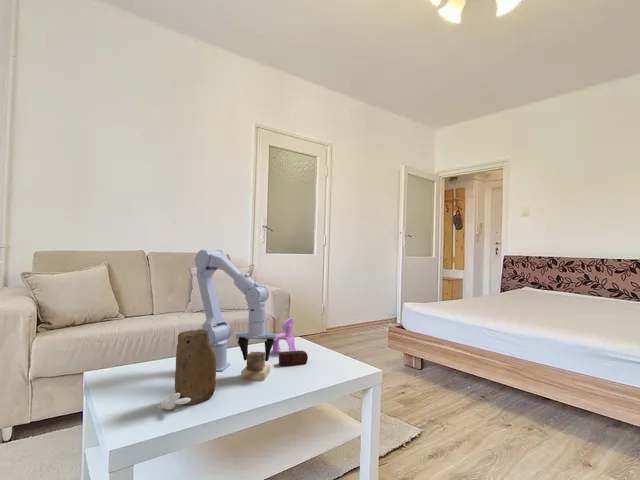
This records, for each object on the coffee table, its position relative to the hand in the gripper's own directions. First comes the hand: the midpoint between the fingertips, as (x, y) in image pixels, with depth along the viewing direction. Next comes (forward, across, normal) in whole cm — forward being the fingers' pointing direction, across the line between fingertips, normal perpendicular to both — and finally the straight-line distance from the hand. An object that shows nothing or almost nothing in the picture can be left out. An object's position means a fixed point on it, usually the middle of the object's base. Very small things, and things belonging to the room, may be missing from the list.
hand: (256, 359), depth 122 cm
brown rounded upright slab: (+6, -12, -21) cm, 25 cm away
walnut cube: (+3, 0, 0) cm, 3 cm away
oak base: (+6, 0, 0) cm, 6 cm away
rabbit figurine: (+6, -14, -29) cm, 33 cm away
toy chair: (+6, +4, +28) cm, 29 cm away
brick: (+6, +10, +14) cm, 19 cm away
